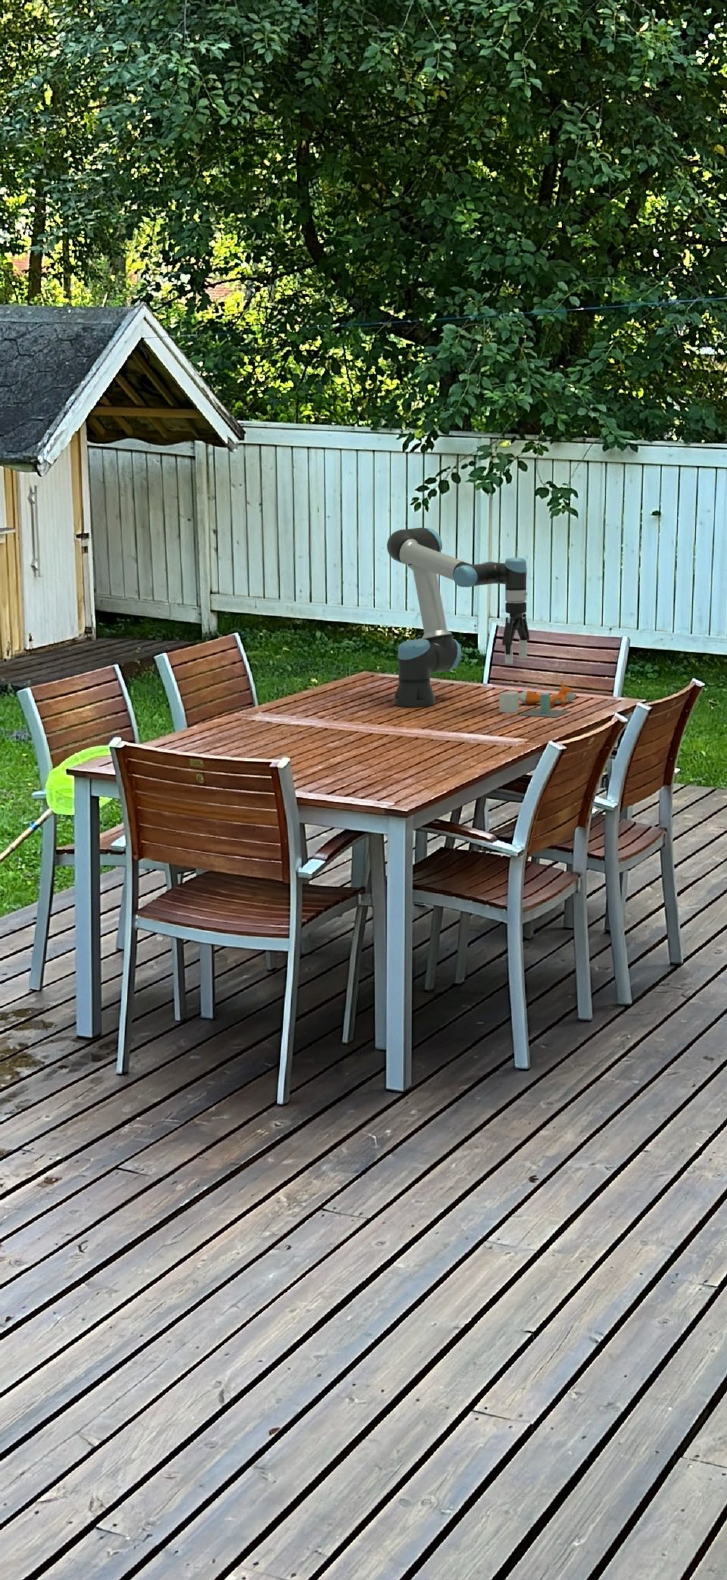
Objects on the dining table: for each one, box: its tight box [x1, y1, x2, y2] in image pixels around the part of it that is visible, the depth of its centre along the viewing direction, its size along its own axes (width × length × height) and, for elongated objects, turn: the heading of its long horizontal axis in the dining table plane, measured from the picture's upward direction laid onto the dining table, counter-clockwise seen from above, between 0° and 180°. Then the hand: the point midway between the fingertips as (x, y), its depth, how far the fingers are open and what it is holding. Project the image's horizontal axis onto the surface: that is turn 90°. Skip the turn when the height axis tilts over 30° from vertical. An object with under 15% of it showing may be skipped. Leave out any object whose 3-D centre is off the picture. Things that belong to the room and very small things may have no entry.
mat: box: [518, 708, 572, 719], centre depth 639 cm, size 14×14×1 cm
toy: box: [519, 680, 577, 708], centre depth 659 cm, size 8×22×15 cm
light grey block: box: [498, 691, 520, 714], centre depth 645 cm, size 5×5×7 cm
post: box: [539, 692, 551, 713], centre depth 638 cm, size 3×3×7 cm
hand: (515, 660), depth 643 cm, fingers open, 13 cm apart
